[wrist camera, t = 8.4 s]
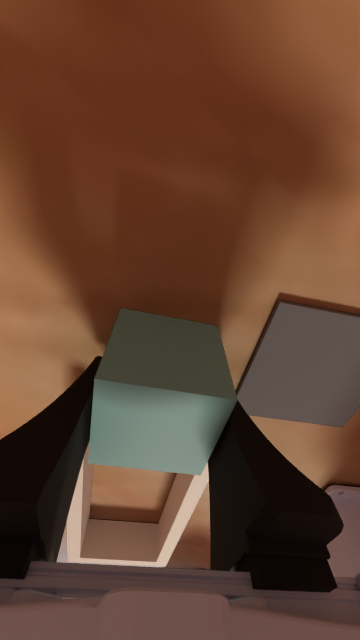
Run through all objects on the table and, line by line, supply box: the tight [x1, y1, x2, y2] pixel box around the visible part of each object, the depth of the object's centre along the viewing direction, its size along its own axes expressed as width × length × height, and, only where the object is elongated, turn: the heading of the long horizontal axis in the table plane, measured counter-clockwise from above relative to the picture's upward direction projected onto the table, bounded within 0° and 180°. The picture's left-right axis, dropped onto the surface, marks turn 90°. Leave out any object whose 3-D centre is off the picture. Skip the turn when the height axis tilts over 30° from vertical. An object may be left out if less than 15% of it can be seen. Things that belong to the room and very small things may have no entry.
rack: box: [67, 441, 209, 567], centre depth 20 cm, size 8×17×3 cm, turn 168°
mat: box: [236, 300, 360, 427], centre depth 15 cm, size 8×8×1 cm
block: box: [88, 308, 237, 476], centre depth 12 cm, size 5×5×5 cm
